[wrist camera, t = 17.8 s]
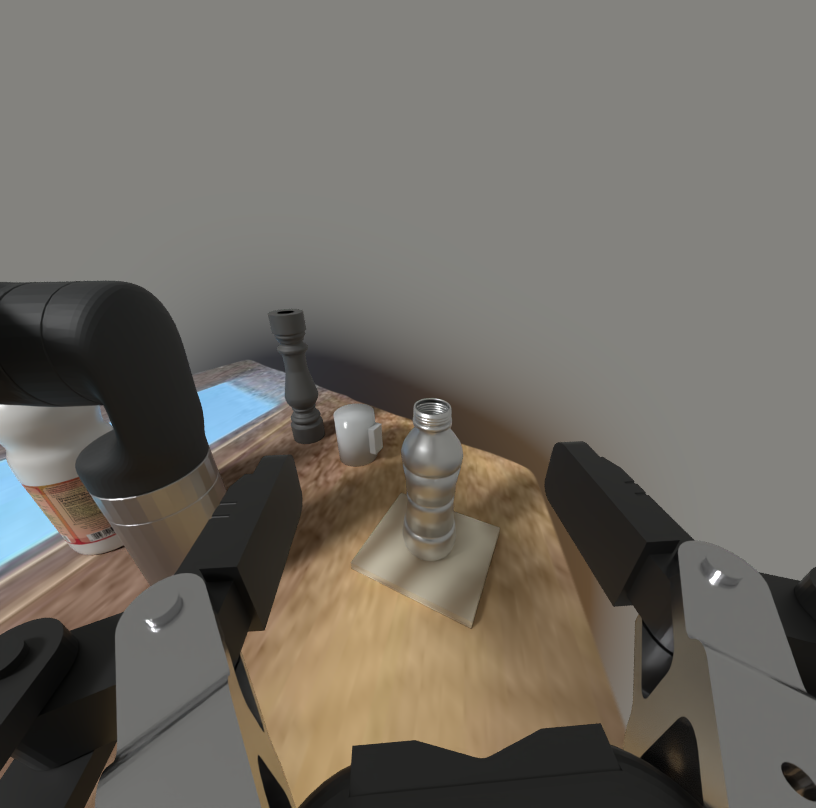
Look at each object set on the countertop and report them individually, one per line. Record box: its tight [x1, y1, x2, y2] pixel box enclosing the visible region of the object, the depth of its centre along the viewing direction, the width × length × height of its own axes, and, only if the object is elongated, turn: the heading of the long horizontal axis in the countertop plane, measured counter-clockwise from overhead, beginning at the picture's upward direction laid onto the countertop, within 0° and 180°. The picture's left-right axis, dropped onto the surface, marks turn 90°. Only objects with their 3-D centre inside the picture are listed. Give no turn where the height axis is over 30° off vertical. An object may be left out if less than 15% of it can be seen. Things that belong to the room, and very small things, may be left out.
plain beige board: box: [351, 493, 500, 628], centre depth 40 cm, size 15×13×1 cm
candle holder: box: [268, 309, 325, 444], centre depth 59 cm, size 6×6×25 cm
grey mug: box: [334, 404, 383, 467], centre depth 56 cm, size 8×7×9 cm
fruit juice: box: [0, 405, 123, 555], centre depth 38 cm, size 9×9×28 cm
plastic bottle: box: [401, 398, 463, 561], centre depth 35 cm, size 6×7×20 cm
